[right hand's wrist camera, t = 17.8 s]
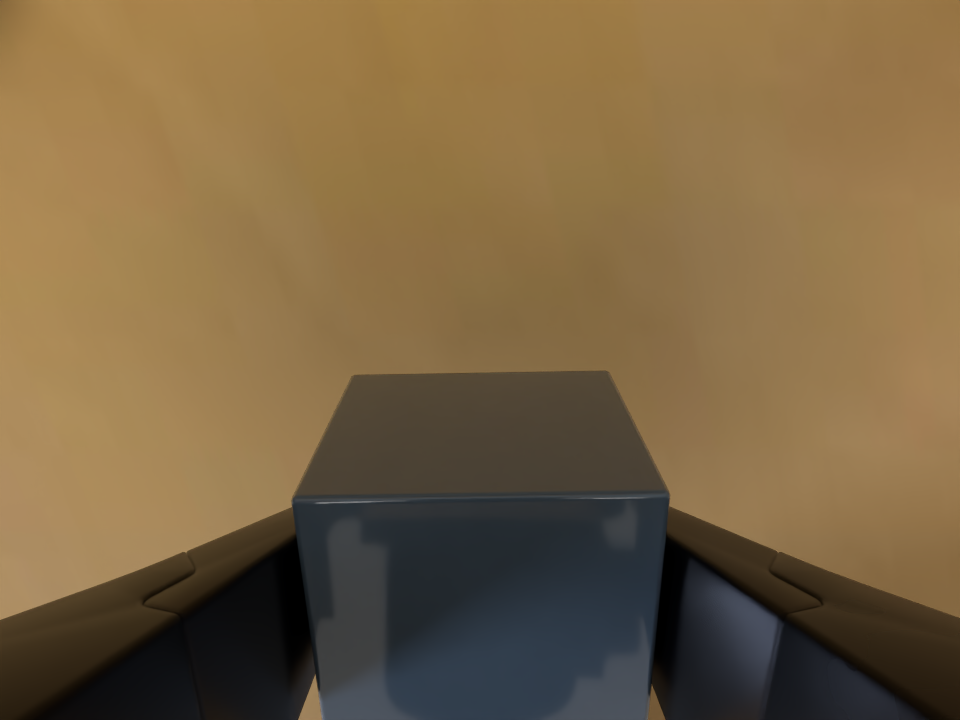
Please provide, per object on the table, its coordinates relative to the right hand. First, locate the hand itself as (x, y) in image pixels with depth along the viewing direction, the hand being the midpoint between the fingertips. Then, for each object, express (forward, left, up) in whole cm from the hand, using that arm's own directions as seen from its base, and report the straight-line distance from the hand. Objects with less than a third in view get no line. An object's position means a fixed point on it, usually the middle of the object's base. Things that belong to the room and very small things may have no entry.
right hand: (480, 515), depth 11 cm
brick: (0, 0, -1) cm, 1 cm away
